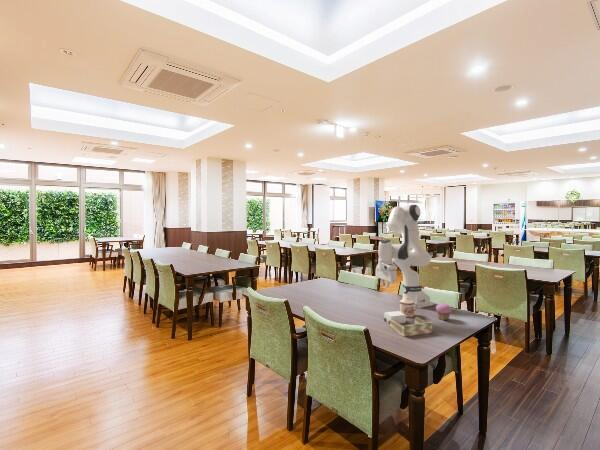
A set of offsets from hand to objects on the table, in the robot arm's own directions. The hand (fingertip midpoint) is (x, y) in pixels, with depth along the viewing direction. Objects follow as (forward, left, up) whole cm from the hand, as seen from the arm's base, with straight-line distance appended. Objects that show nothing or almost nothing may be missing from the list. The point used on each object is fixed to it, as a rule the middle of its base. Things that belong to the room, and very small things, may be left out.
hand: (385, 286), depth 202 cm
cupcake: (-30, +17, -19) cm, 39 cm away
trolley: (0, +11, -19) cm, 22 cm away
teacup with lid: (-15, +3, -19) cm, 25 cm away
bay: (0, +26, -19) cm, 32 cm away
